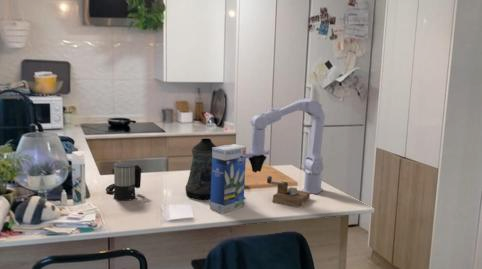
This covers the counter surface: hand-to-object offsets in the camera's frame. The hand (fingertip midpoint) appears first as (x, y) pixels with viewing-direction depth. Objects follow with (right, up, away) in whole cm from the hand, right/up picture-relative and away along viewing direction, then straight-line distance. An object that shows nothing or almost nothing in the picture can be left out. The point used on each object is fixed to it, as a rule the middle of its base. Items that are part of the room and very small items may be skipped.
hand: (256, 171), depth 219 cm
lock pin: (+8, -5, -3) cm, 10 cm away
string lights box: (-13, -14, -20) cm, 27 cm away
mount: (+15, -12, -6) cm, 20 cm away
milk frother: (-60, -10, -9) cm, 61 cm away
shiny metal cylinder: (+15, -12, -6) cm, 21 cm away
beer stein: (-24, -10, -2) cm, 26 cm away
